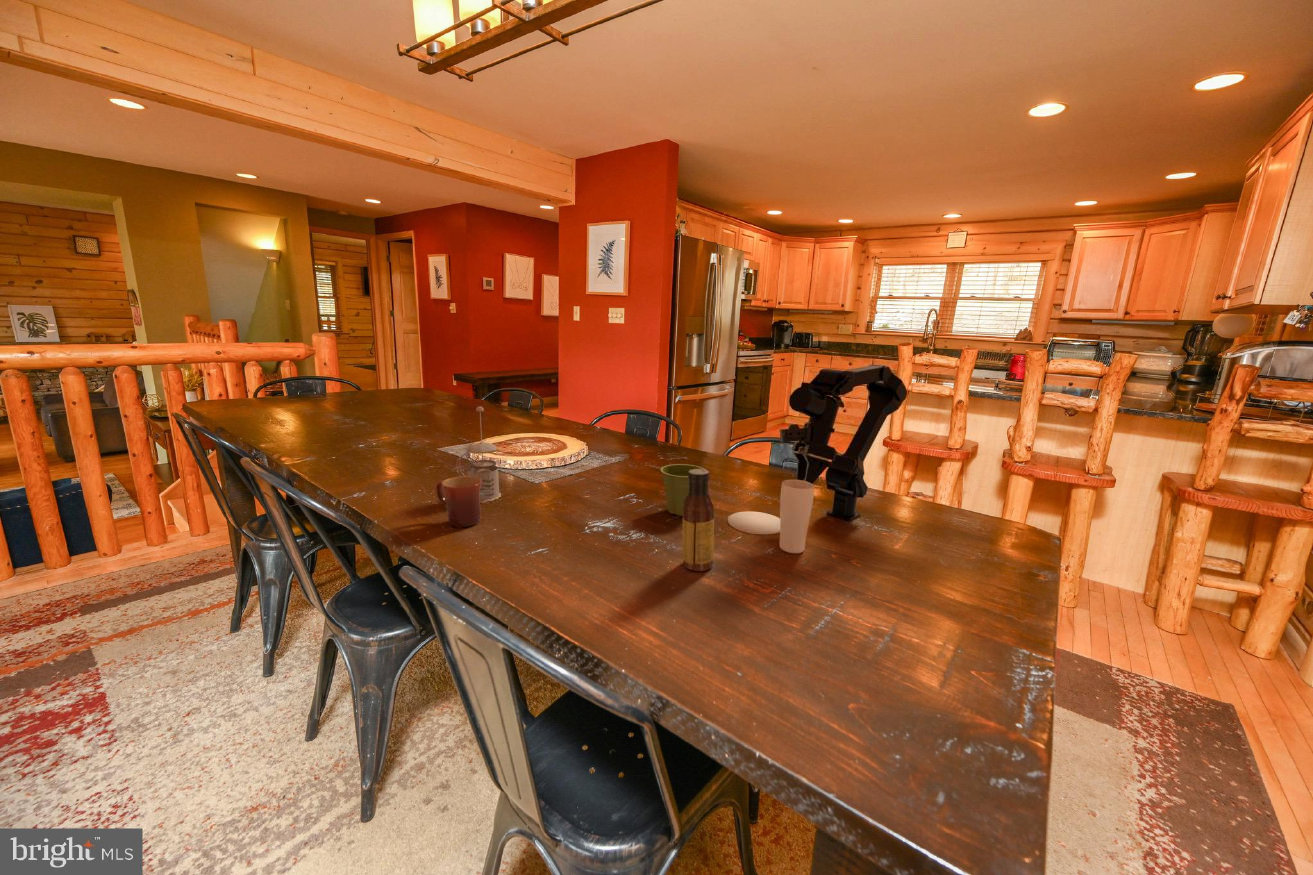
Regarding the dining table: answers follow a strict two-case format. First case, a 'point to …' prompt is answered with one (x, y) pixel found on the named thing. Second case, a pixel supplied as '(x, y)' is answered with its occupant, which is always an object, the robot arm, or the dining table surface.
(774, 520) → the cream flat disc
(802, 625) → the dining table surface
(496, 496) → the french press
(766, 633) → the dining table surface
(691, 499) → the sauce bottle
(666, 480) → the plant pot
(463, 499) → the mug
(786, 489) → the drinking glass
